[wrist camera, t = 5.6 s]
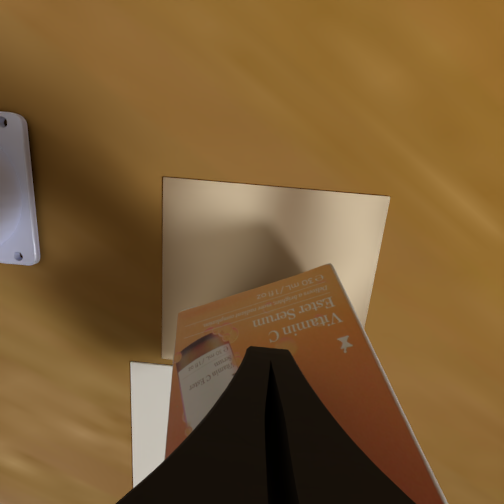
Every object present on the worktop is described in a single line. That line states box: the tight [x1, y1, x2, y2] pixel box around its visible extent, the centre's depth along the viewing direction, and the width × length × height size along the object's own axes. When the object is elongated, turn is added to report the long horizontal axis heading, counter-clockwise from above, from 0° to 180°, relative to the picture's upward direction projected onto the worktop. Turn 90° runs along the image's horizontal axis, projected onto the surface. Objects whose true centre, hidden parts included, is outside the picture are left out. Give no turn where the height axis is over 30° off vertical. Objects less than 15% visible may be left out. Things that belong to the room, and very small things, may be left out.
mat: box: [130, 361, 173, 488], centre depth 19 cm, size 16×14×1 cm
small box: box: [164, 263, 448, 504], centre depth 11 cm, size 8×6×10 cm
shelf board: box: [162, 177, 390, 360], centre depth 16 cm, size 12×11×1 cm
